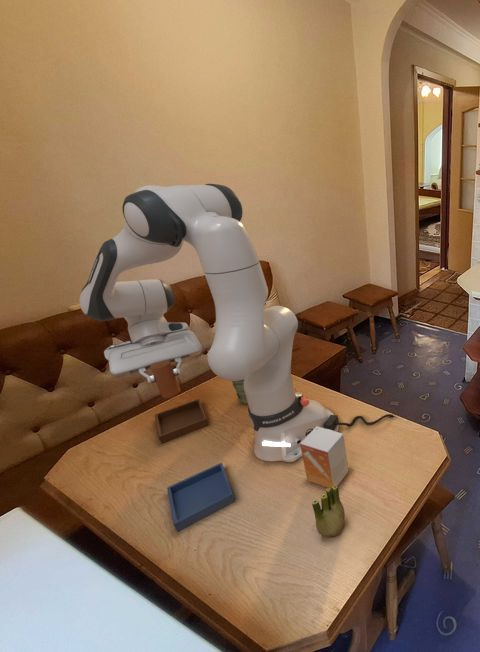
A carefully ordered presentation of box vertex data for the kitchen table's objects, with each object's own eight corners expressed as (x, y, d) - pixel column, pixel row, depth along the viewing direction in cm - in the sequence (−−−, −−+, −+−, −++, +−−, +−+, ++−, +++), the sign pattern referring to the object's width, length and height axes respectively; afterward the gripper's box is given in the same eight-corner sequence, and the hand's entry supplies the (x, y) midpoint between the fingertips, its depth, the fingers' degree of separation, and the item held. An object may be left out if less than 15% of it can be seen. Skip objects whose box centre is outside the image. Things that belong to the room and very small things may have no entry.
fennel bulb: (319, 544, 76) (311, 506, 71) (318, 524, 80) (310, 486, 75) (347, 534, 78) (341, 496, 73) (345, 514, 82) (338, 477, 78)
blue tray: (224, 469, 93) (221, 462, 92) (235, 501, 85) (232, 493, 84) (170, 494, 86) (167, 487, 85) (177, 532, 78) (173, 524, 77)
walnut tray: (201, 404, 115) (199, 398, 114) (208, 425, 107) (206, 418, 106) (157, 420, 108) (154, 414, 107) (161, 443, 100) (158, 437, 99)
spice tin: (179, 386, 106) (169, 357, 102) (181, 393, 103) (170, 364, 99) (160, 392, 103) (149, 363, 99) (162, 399, 100) (150, 370, 96)
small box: (307, 482, 90) (298, 443, 85) (323, 462, 96) (316, 425, 90) (334, 491, 88) (327, 452, 83) (349, 470, 93) (343, 433, 88)
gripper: (98, 343, 94) (112, 391, 92) (192, 321, 107) (207, 362, 105) (105, 351, 99) (118, 396, 96) (194, 329, 112) (208, 368, 109)
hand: (165, 378), depth 101 cm, fingers closed on spice tin, 4 cm apart
